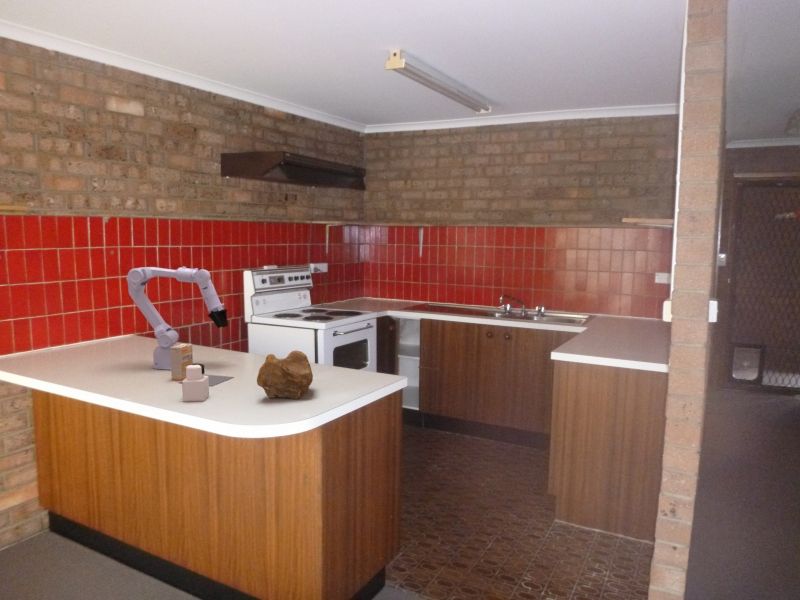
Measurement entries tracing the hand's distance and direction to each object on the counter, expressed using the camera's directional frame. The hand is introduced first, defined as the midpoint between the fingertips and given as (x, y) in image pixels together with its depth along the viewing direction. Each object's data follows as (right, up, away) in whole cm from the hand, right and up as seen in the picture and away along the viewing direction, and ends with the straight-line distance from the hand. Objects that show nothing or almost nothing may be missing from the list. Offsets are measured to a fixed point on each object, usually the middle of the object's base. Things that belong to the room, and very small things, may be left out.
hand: (223, 327), depth 246 cm
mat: (0, -20, -21) cm, 29 cm away
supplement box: (-10, -19, -18) cm, 28 cm away
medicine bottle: (+5, -23, -45) cm, 51 cm away
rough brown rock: (+36, -22, -41) cm, 59 cm away
